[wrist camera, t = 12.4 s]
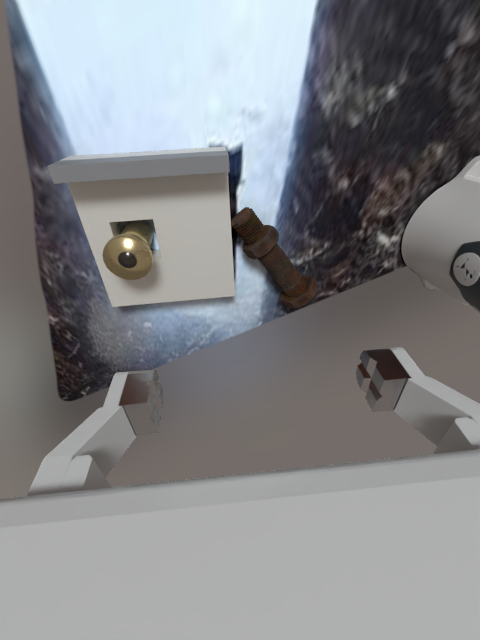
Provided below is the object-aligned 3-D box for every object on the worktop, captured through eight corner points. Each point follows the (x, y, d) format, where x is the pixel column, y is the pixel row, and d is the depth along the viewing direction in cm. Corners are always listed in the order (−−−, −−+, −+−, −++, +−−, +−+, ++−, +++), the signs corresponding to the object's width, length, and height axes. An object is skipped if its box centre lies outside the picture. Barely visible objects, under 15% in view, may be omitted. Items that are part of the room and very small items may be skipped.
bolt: (241, 202, 39) (299, 280, 47) (216, 229, 39) (279, 304, 46) (264, 197, 34) (325, 285, 42) (236, 228, 34) (303, 312, 41)
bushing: (152, 210, 37) (143, 234, 31) (164, 249, 40) (157, 276, 35) (110, 216, 37) (94, 241, 31) (126, 254, 40) (113, 283, 35)
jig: (224, 146, 34) (228, 155, 29) (233, 285, 44) (237, 308, 40) (69, 156, 33) (47, 166, 28) (117, 295, 43) (106, 319, 39)
